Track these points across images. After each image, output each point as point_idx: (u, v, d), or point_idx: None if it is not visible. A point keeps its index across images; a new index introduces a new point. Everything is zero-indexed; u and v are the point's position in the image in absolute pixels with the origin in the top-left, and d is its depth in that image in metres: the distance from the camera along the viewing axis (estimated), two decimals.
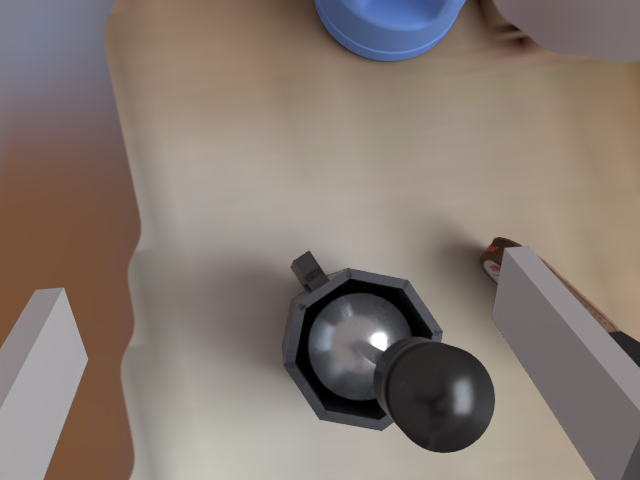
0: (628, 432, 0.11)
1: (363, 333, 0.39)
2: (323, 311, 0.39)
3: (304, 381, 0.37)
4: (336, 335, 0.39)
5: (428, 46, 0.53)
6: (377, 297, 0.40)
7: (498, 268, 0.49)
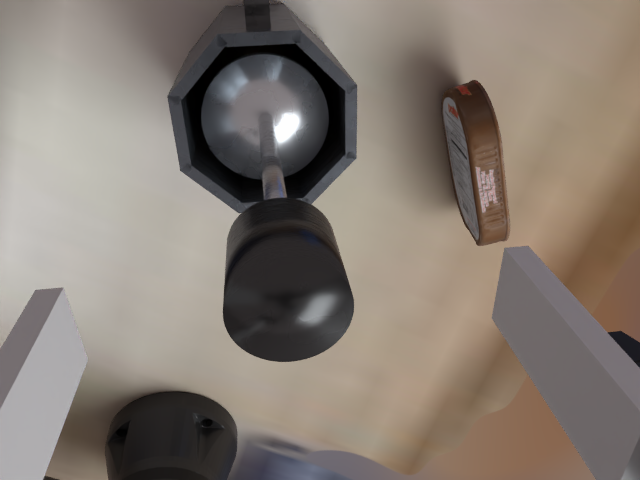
0: (628, 432, 0.11)
1: (276, 110, 0.32)
2: (245, 59, 0.31)
3: (182, 125, 0.31)
4: (245, 94, 0.32)
5: None
6: (313, 80, 0.32)
7: (455, 113, 0.42)
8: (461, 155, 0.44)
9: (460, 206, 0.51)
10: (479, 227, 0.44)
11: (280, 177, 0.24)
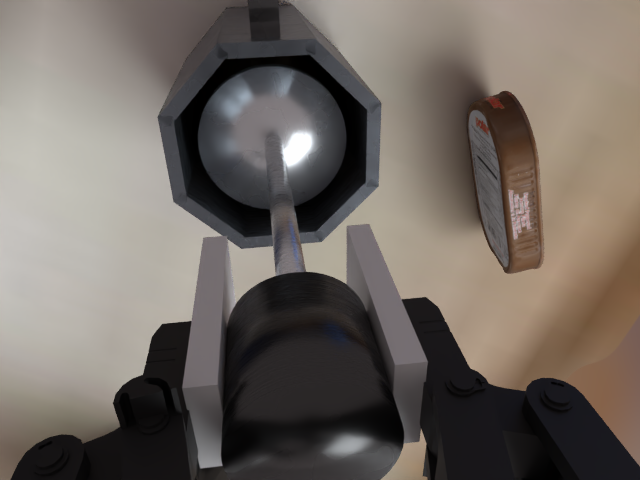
0: (390, 379, 0.12)
1: (285, 130, 0.28)
2: (249, 72, 0.26)
3: (176, 150, 0.26)
4: (250, 113, 0.27)
5: None
6: (329, 97, 0.27)
7: (484, 128, 0.38)
8: (490, 174, 0.40)
9: (485, 227, 0.46)
10: (509, 255, 0.40)
11: (293, 224, 0.19)
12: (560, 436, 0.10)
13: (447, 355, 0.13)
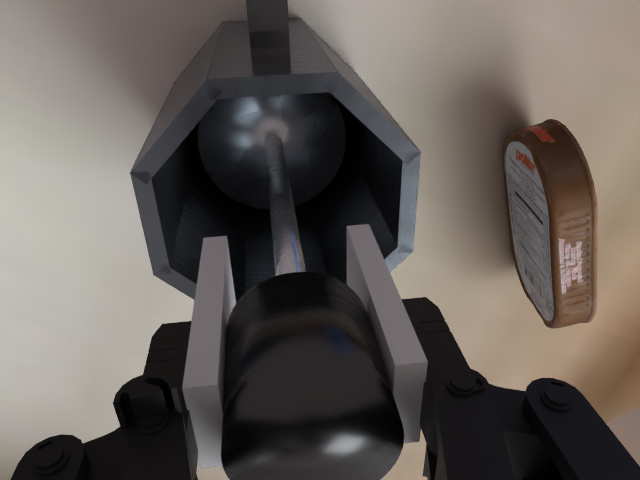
0: (390, 379, 0.12)
1: (285, 130, 0.28)
2: None
3: (155, 213, 0.20)
4: (249, 113, 0.27)
5: None
6: (329, 97, 0.27)
7: (528, 164, 0.32)
8: (532, 216, 0.34)
9: (520, 270, 0.40)
10: (555, 310, 0.34)
11: (293, 224, 0.19)
12: (560, 436, 0.10)
13: (447, 355, 0.13)
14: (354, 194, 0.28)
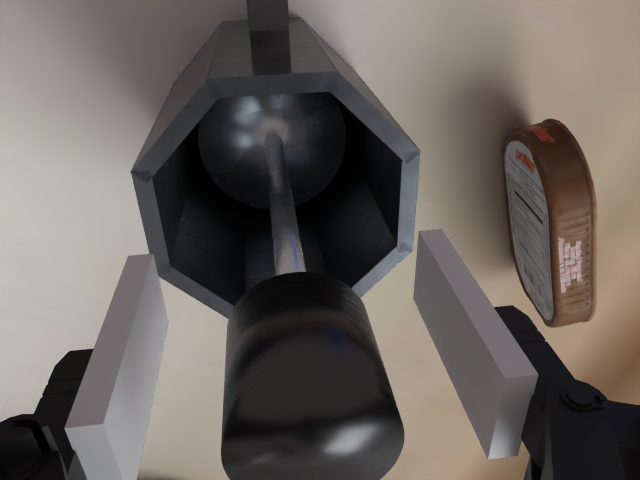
0: (495, 392, 0.12)
1: (285, 130, 0.28)
2: None
3: (156, 211, 0.20)
4: (250, 113, 0.27)
5: None
6: (329, 97, 0.27)
7: (528, 163, 0.32)
8: (531, 215, 0.34)
9: (519, 269, 0.40)
10: (555, 309, 0.34)
11: (293, 224, 0.19)
12: None
13: (549, 367, 0.12)
14: (354, 193, 0.28)
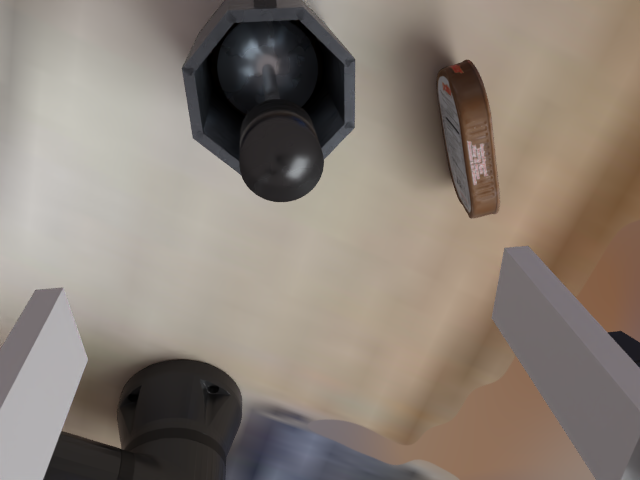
0: (628, 432, 0.11)
1: (276, 61, 0.41)
2: None
3: (195, 95, 0.33)
4: (252, 48, 0.40)
5: None
6: (306, 38, 0.40)
7: (448, 91, 0.45)
8: (454, 131, 0.47)
9: (454, 182, 0.54)
10: (471, 199, 0.47)
11: None
12: None
13: None
14: (323, 105, 0.42)
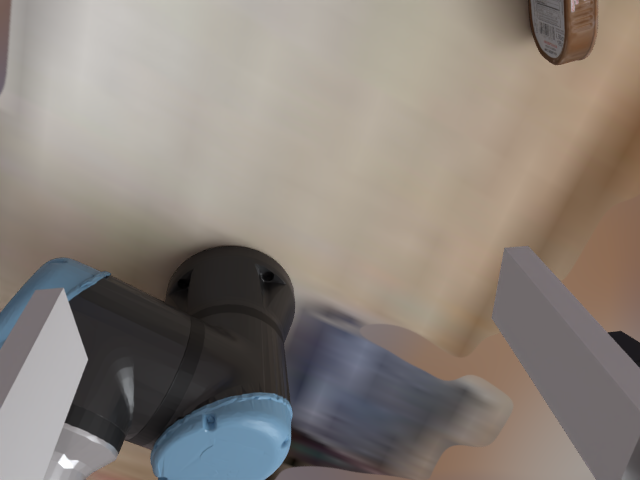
0: (628, 432, 0.11)
1: None
2: None
3: None
4: None
5: None
6: None
7: None
8: None
9: (536, 34, 0.50)
10: (566, 31, 0.44)
11: None
12: None
13: None
14: None
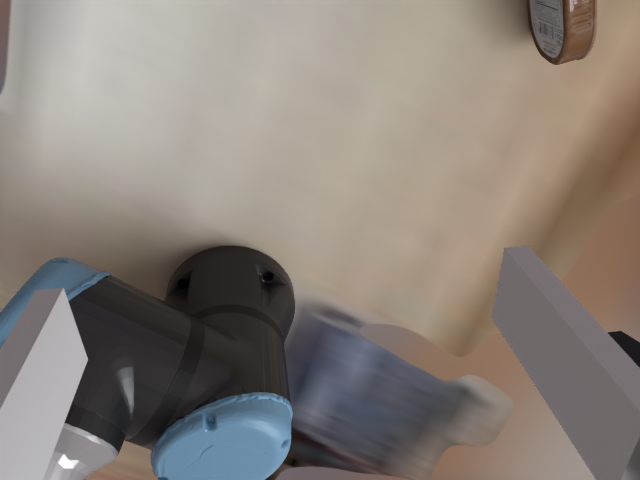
0: (628, 432, 0.11)
1: None
2: None
3: None
4: None
5: None
6: None
7: None
8: None
9: (535, 34, 0.50)
10: (565, 31, 0.44)
11: None
12: None
13: None
14: None
